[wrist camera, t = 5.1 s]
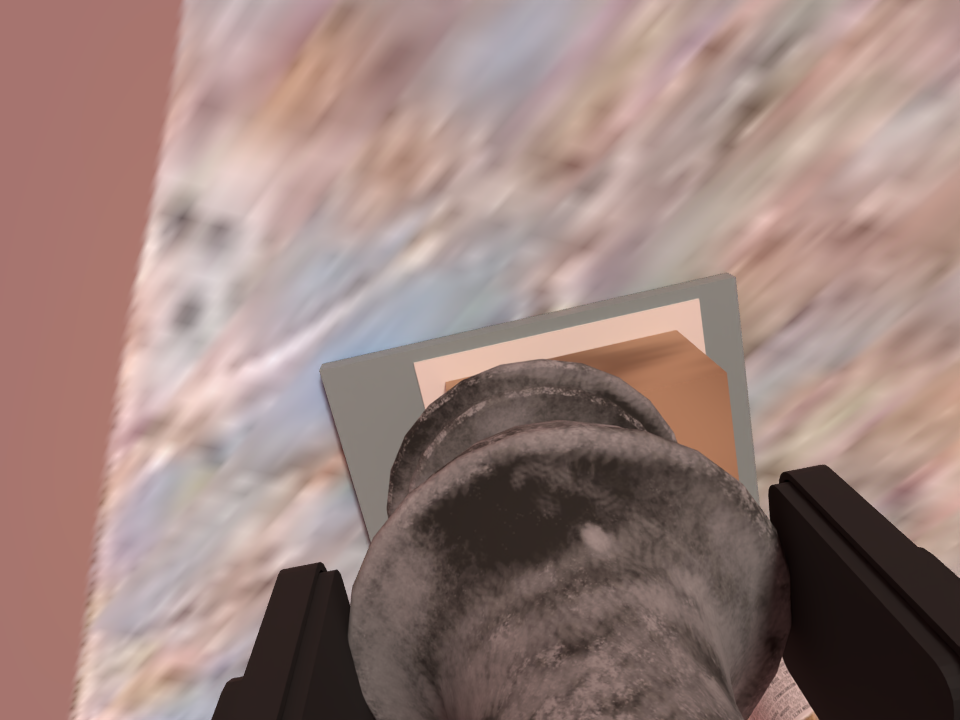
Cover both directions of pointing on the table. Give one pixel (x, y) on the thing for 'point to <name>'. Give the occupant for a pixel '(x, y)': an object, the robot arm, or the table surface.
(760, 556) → the dark grey chess piece
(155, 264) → the table surface
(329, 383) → the grey flat slab
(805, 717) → the sprinkles bottle
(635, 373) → the walnut block
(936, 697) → the robot arm
